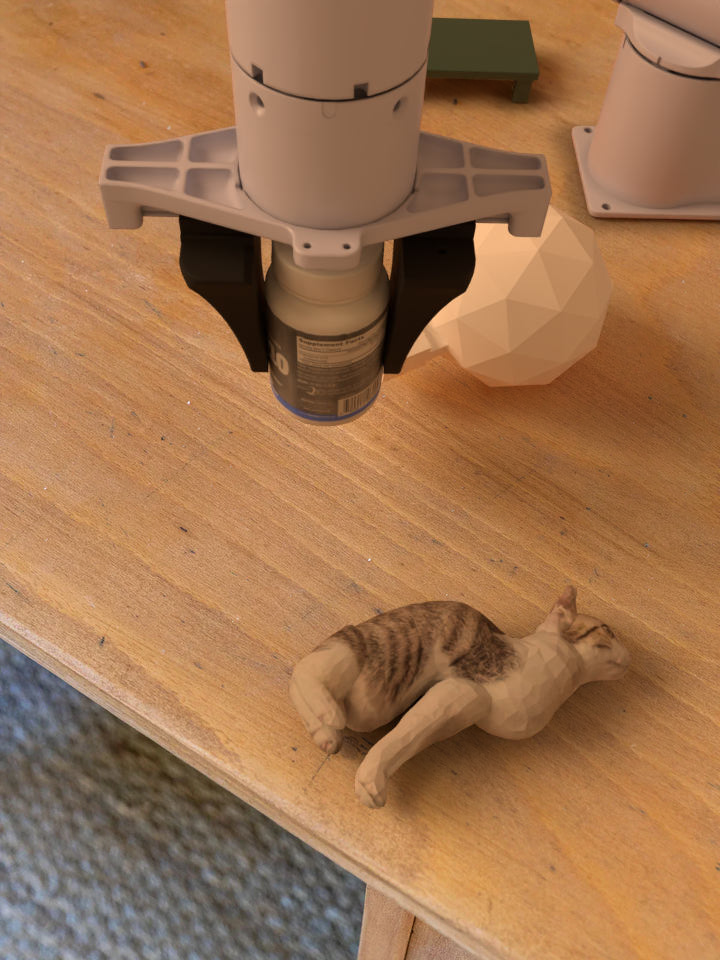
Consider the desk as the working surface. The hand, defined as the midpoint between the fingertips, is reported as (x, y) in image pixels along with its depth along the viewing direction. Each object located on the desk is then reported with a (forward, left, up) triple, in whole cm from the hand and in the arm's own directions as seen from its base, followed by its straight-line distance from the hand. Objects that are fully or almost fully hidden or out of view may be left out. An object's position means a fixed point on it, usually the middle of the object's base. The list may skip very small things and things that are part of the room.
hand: (325, 354), depth 38 cm
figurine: (-3, +19, -6) cm, 20 cm away
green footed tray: (-8, -31, -8) cm, 33 cm away
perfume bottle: (-8, -7, -8) cm, 13 cm away
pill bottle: (0, 0, -2) cm, 2 cm away
